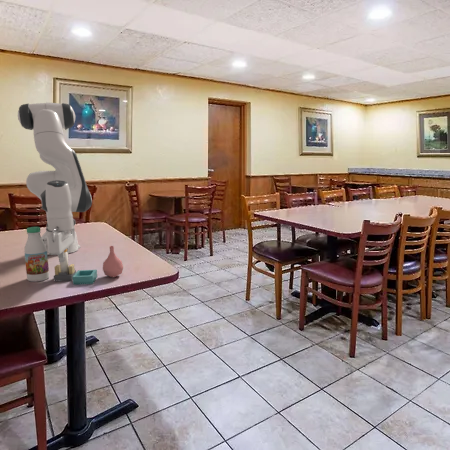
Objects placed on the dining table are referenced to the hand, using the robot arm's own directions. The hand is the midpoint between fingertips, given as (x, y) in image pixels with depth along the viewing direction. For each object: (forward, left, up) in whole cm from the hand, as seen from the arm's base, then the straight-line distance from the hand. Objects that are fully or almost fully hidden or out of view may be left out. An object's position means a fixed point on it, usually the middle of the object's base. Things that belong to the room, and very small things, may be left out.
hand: (63, 260), depth 148 cm
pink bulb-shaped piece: (+13, +13, -7) cm, 19 cm away
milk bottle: (-8, -7, -7) cm, 13 cm away
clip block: (0, 0, -7) cm, 7 cm away
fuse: (0, 0, -5) cm, 5 cm away
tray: (+9, +3, -7) cm, 12 cm away
